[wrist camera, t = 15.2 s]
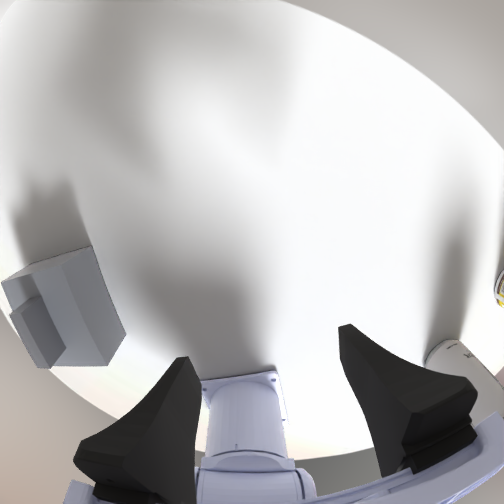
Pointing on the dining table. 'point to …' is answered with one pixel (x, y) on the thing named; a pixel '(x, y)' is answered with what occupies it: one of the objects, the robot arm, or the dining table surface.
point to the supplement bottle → (500, 290)
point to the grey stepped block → (64, 311)
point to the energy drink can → (469, 377)
